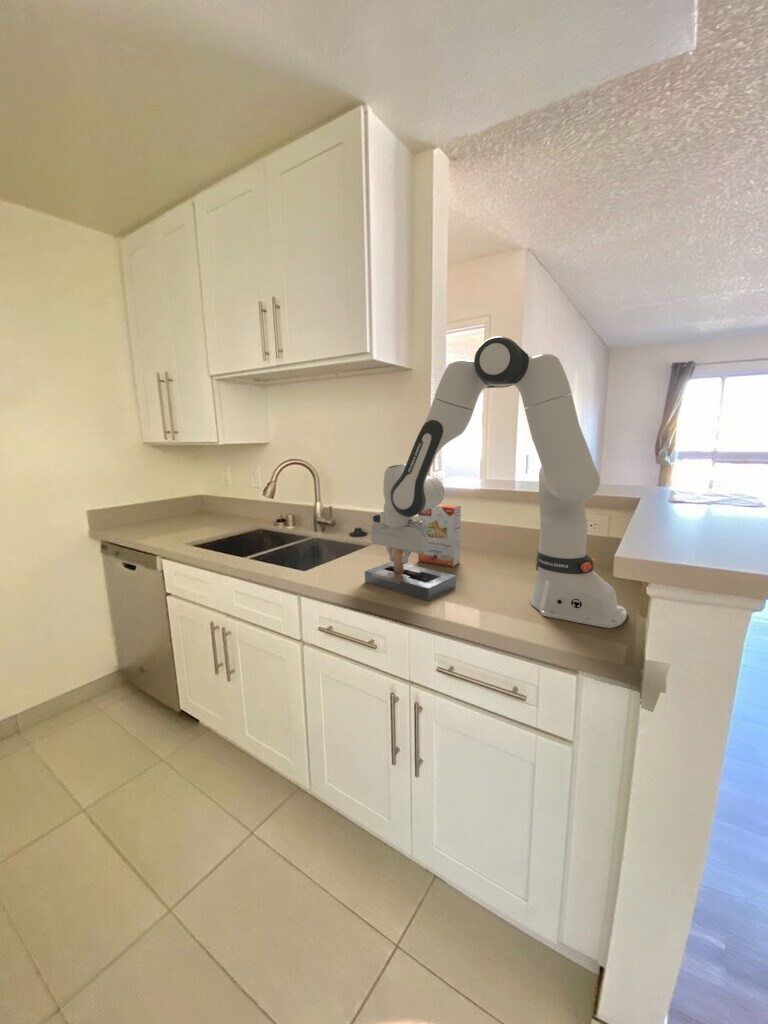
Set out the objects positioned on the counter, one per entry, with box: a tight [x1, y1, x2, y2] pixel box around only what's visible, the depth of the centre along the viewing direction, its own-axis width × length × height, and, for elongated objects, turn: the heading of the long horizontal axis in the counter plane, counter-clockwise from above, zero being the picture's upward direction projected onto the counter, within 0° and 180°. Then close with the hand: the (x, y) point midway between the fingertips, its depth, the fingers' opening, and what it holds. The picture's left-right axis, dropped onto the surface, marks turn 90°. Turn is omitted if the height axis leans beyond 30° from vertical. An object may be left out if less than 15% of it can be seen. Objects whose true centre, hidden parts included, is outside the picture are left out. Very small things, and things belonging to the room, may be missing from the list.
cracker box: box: [417, 503, 462, 568], centre depth 146 cm, size 14×6×21 cm, turn 55°
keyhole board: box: [364, 561, 457, 602], centre depth 126 cm, size 24×14×4 cm, turn 48°
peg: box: [393, 548, 406, 575], centre depth 127 cm, size 5×5×11 cm
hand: (398, 562), depth 127 cm, fingers closed on peg, 3 cm apart
